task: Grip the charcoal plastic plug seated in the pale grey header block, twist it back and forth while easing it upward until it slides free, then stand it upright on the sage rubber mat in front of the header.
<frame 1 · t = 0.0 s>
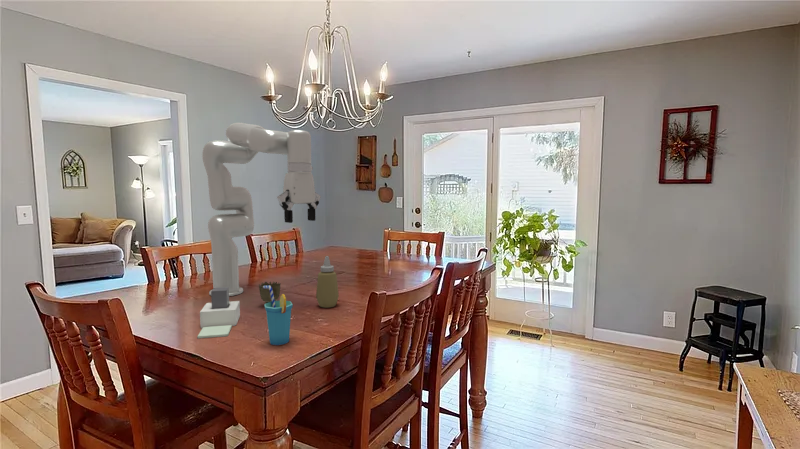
hand: (300, 221, 137), 31 cm above the table, tool pointing down, fingers open, 9 cm apart
squeeze bottle: (327, 306, 149), on the table
header: (221, 321, 131), on the table
plug: (220, 304, 131), in the header
cup: (277, 341, 115), on the table
mat: (215, 332, 122), on the table
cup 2: (270, 306, 149), on the table
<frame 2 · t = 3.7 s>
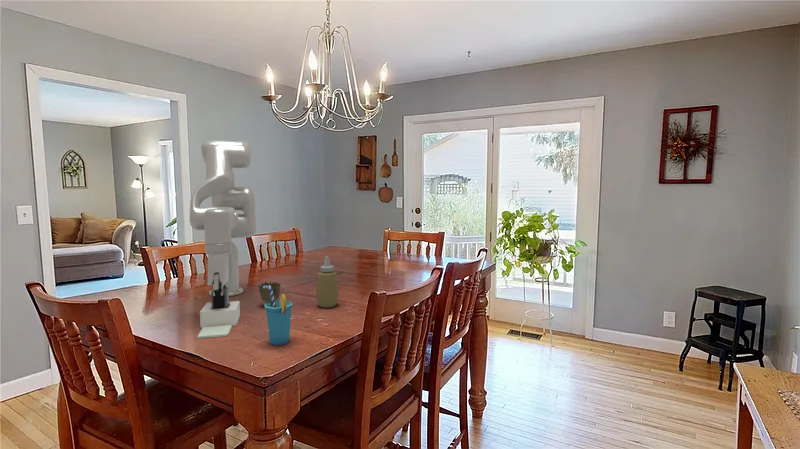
hand: (220, 305, 131), 5 cm above the table, tool pointing down, fingers closed on plug, 4 cm apart
plug: (220, 304, 131), in the header, touching gripper
everything else where it was.
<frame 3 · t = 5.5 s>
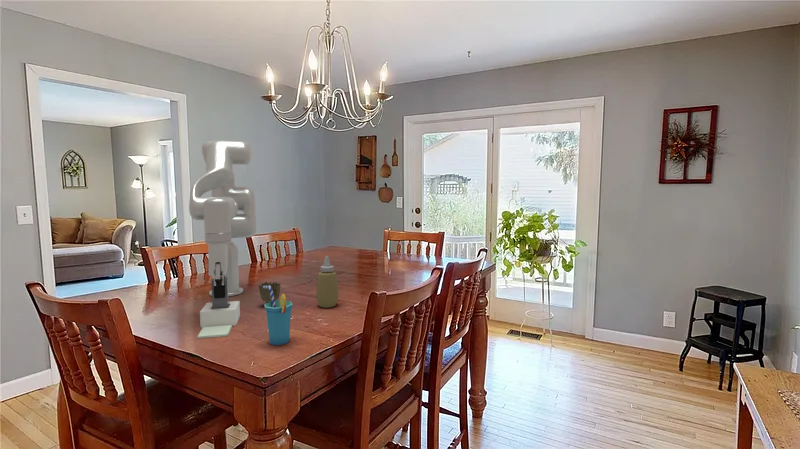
hand: (220, 295, 131), 9 cm above the table, tool pointing down, fingers closed on plug, 4 cm apart
plug: (220, 294, 131), point 9 cm above the table, touching gripper, header
everything else where it was.
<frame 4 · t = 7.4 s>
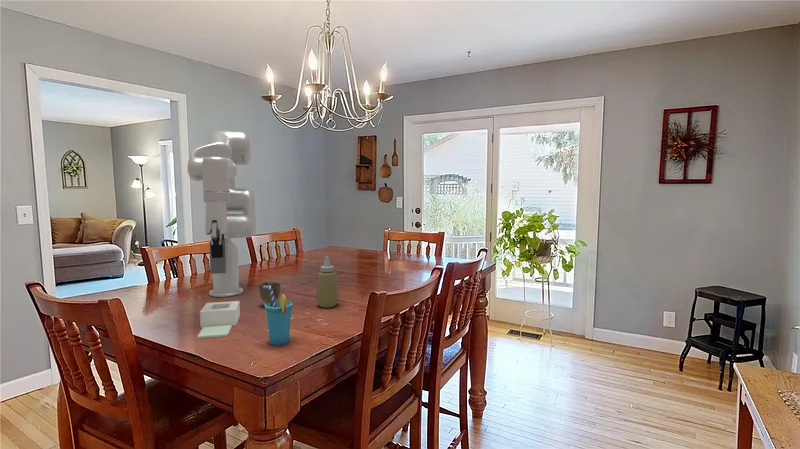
hand: (218, 255, 129), 21 cm above the table, tool pointing down, fingers closed on plug, 4 cm apart
plug: (219, 256, 130), point 21 cm above the table, touching gripper
everything else where it was.
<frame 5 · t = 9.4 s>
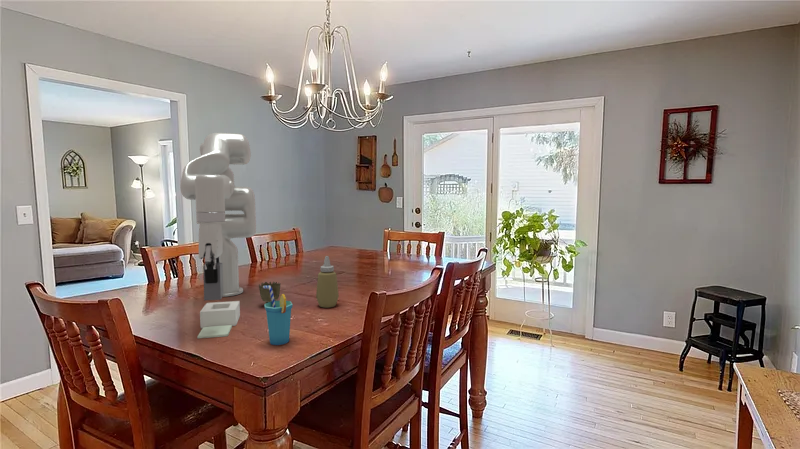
hand: (213, 280, 120), 16 cm above the table, tool pointing down, fingers closed on plug, 4 cm apart
plug: (213, 281, 120), point 15 cm above the table, touching gripper
everything else where it was.
when the fingers open (7 cm above the table, at t = 11.3 s): plug stays where it is, resting on mat.
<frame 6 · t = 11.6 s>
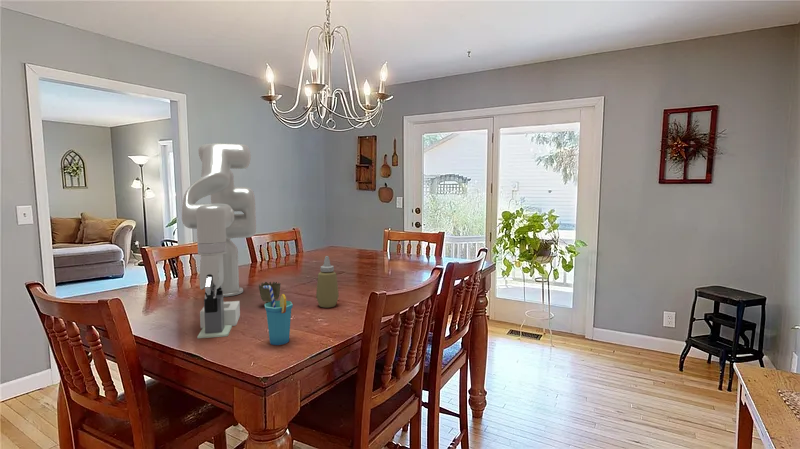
hand: (214, 307, 121), 7 cm above the table, tool pointing down, fingers open, 8 cm apart
plug: (214, 313, 121), on the mat, point 6 cm above the table
everything else where it was.
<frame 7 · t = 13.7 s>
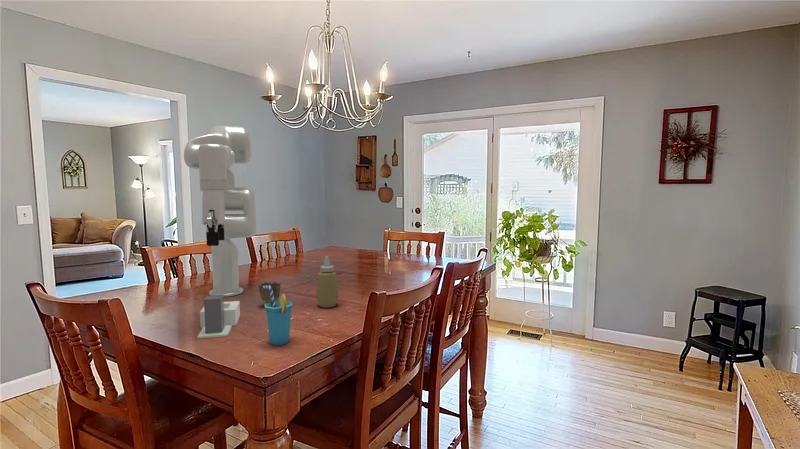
hand: (216, 242, 126), 26 cm above the table, tool pointing down, fingers open, 9 cm apart
nothing on the table moved.
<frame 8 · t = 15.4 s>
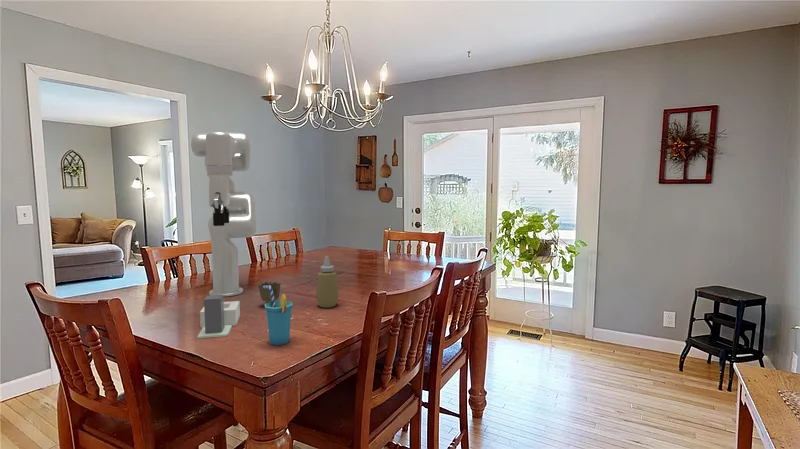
hand: (221, 224, 135), 30 cm above the table, tool pointing down, fingers open, 9 cm apart
nothing on the table moved.
at the end: plug 0.0 cm off-centre on the mat, point 5.6 cm above the mat's base; plug tilted 0°; plug touching mat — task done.
